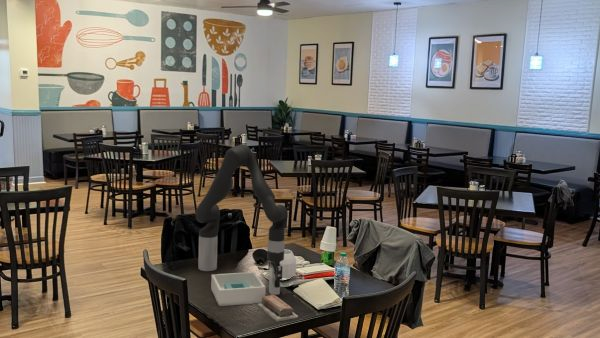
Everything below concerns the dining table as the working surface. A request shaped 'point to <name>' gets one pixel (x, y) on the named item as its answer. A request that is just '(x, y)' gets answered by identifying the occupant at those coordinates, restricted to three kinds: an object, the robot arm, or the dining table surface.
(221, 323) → the dining table surface
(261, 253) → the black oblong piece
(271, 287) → the grey upright block
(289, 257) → the white round vase
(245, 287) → the walled box
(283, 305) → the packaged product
